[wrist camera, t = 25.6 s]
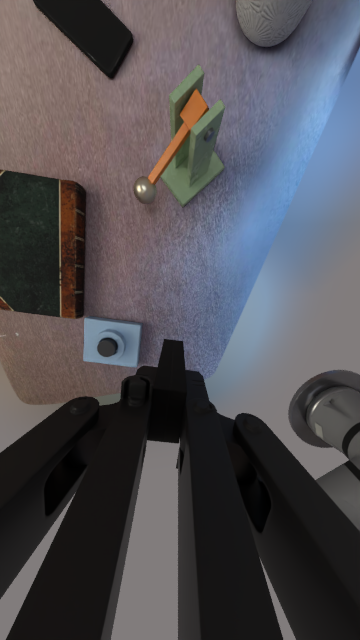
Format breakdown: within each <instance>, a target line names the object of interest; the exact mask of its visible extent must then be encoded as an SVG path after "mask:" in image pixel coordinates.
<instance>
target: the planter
mask: <svg viewBox="0 0 360 640" xmlns="http://www.w3.org/2000/svg"><path fill="white" fill-rule="evenodd" d="M312 1H313V0H236V10H237V17H238V21H239V24H240V27H241V29H242V31H243V33H244V34H245V36H246V37H247V38H248V39H249V40H250V41H251V42H252V43H254V44H256V45H258V46H262V47H271V46H274V45H277V44H279V43H280V42H282V41H283V40H285V39H286V38H287V37H288V36H289V35H290V34H291V33H292V32H293V31H294V29H295V28H296V27H297V25H298V24H299V22H300V21H301V19H302V18H303V16H304V15H305V13H306V11H307V9H308V8H309V6H310V4H311V2H312Z"/></svg>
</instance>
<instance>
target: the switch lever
mask: <svg viewBox="0 0 360 640" xmlns="http://www.w3.org/2000/svg"><path fill="white" fill-rule="evenodd" d="M208 111H209V108H208V106H207V104H206V102H205V101H204V99H203V98H202V96H201V95H200V93H199V91H198V90H197V88H196V89H195V91H194V92H193V94H192V96H191V97H190V99H189V101H188V102H187V104H186V105H185V107H184V109H183V110H182V112H181V113H180V116H181V118H182V119H183V121H184V123H183V124H182V126H181V127H180V129H179V130H178V132H177V134H176V135H175V137H174V138H173V140H172V141H171V143H170V144H169V146H168V147H167V149H166V150H165V152H164V154H163V155H162V157H161V158H160V160H159V161H158V163H157V164H156V166H155V167H154V169H153V170H152V172H151V174H150V175H149V177H146V176H142V177H139V178H138V179H137V180H136V181H135V183H134V194H135V197H136V198H137V200H138V201H139V202H141V203H143V204H150V203H151V202H153V201H154V199H155V197H156V186H155V184H156V183H157V181H158V180H159V178H160V177H161V175H162V174H163V172H164V171H165V170H166V168H167V167H168V165H169V164H170V162H171V161H172V159H173V158H174V157H175V155H176V154H177V152H178V151H179V149H180V148H181V146H182V145H183V144H184V142H185V141H186V139H187V138H188V136H189V135H190V133H191V128H192V127H193V126H194V125H195V124H196V123H197V122H198V121H199V120H200V119H201V118H202V117H203V116H204V115H205V114H206V113H207V112H208Z"/></svg>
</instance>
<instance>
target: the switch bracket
mask: <svg viewBox="0 0 360 640" xmlns="http://www.w3.org/2000/svg"><path fill="white" fill-rule="evenodd" d="M203 78H204V72H203V70H202V69H201V67H200V65H198V66H197V67H196V68H195V69H194V70H193V71H192V72H191V73H190V74H189V75H188V76H187V77H186V78H185V79H184V80H183V81H182V82H181V84H180V85H179V86H178V87H177V88H176V89H175V90H174V91H173V92H172V93H171V94H170V95H169V101H170V123H171V141H172V140H173V138H174V137H175V135H176V134H177V132H178V130H179V129H180V127H181V126H182V124H183V123H184V121H183V119H182V118H181V116H180V113H181V112H182V110H183V109H184V107H185V105H186V104H187V102H188V101H189V99H190V97H191V96H192V94H193V92H194V91H195V89H196V88H197V90H198V91H199V93H200V95H201V93H202V86H203ZM224 110H225V106H224V104H223V102H222V101H221V99H220V100H219V101H218V102H217V103H216V104H215V105H214V106H213V107H212V108H211V109H210V110H209V111H208V112H207V113H206V114H205V115H204V116H203V117H202V118H201V119H200V120H199V121H198V122H197V123H196V124H195V125H194V126H193V127H192V128H191V133H190V135H189V136H188V138H187V139H186V141H185V142H184V144H183V145H182V146H181V148H180V149H179V151H178V152H177V154H176V155H175V157H174V158H173V159H172V161H171V162H170V164H169V165H168V167H167V168H166V170H165V171H164V172H163V174H162V175H161V177H160V178H161V179H162V180H163V182H164V183H165V184H166V186H167V187H168V188H169V190H170V191H171V192H172V194H173V195H174V196H175V198H176V199H177V200H178V202H179V203H180V205H181V206H182V207H184V206H185V205H186V204H187V203H189V202H190V201H191V200H192V199H193V198H194V197H195V196H196V195H197V194H198V193H199V192H200V191H202V190H203V189H204V188H205V187H206V186H207V185H208V184H209V183H210V182H211V181H212V180H213V179H215V178H216V177H217V176H218V175H219V174H220V173H221V172H222V171H223V169H224V165H223V164H222V162H221V161H220V159H219V158H218V156H217V155H216V153H215V152H214V146H215V142H216V139H217V135H218V132H219V128H220V124H221V121H222V117H223V113H224Z"/></svg>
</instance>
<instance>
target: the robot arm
mask: <svg viewBox="0 0 360 640" xmlns="http://www.w3.org/2000/svg"><path fill="white" fill-rule="evenodd" d="M306 421H307V424H308V426H309V428H310V429H311V430H312V431H313V432H314V433H315V434H316V435H317V436H318V437H319V438H320V439H322V440H323V441H325V442H327V443H328V444H330V445H331V446H333V447H334V448H336V449H337V450H339V451H340V452H342V453H343V454H345V456H346V457H347V458H348V459H349V461H347V462H346V463H344V464H342V465H340V466H339V467H337V468H335V469H334V470H332V471H330V472H328V473H327V474H325V475H323V476H322V477H320V478H318V479H317V480H314V478H313V477H312V476H311V475H310V474H309V473H308V472H307V470H306V469H305V468H304V467H303V466H302V465H301V464H300V462H299V461H298V460H297V459H296V458H295V457H294V456H293V454H292V453H291V452H290V451H289V450H288V449H287V448H286V446H285V445H284V444H283V443H282V442H281V441H280V440H279V439H278V437H277V436H276V435H275V434H274V433H273V432H272V430H271V429H270V428H269V427H268V426H267V425H266V424H265V423H264V422H263V421H262V420H261V419H259V418H258V417H256V416H254V415H251V414H247V413H241V414H238V415H237V416H236V418H235V420H233V419H230V418H227V417H225V416H223V415H220V414H219V413H217V410H216V408H215V406H214V405H213V404H212V403H211V402H210V401H209V398H208V394H207V390H206V387H205V383H204V379H203V376H202V375H201V374H200V373H199V372H197V371H189V370H185V359H184V347H183V341H176V340H169V339H164V342H163V347H162V351H161V355H160V360H159V364H158V367H151V366H142V367H140V368H139V369H138V370H137V372H136V375H133V376H129V377H127V378H125V379H124V380H123V381H122V386H121V399H120V401H119V402H117V403H114V404H110V405H102V406H99V402H98V400H97V399H95V398H93V397H87V396H85V397H78V398H75V399H72V400H70V401H69V402H67V403H66V404H64V405H63V406H62V407H60V408H59V409H58V410H56V411H55V412H54V413H52V414H51V415H50V416H48V417H47V418H46V419H44V420H43V421H42V422H41V423H39V424H38V425H37V426H35V427H34V428H33V429H31V430H30V431H29V432H27V433H26V434H25V435H23V436H22V437H21V438H19V439H18V440H17V441H15V442H14V443H13V444H11V445H10V446H9V447H7V448H6V449H5V450H4V451H2V452H1V453H0V599H1V597H2V596H3V595H4V593H5V592H6V590H7V589H8V588H9V586H10V585H11V583H12V582H13V580H14V579H15V578H16V576H17V575H18V573H19V572H20V570H21V569H22V568H23V566H24V565H25V563H26V562H27V560H28V559H29V558H30V556H31V555H32V553H33V552H34V551H35V549H36V548H37V546H38V545H39V544H40V542H41V541H42V539H43V538H44V536H45V535H46V534H47V532H48V531H49V529H50V528H51V526H52V525H53V524H54V522H55V521H56V519H57V518H58V517H59V515H60V514H61V512H62V511H63V509H64V508H65V507H66V505H67V504H68V502H69V501H70V500H71V498H72V497H73V495H74V494H75V496H74V498H73V500H72V502H71V504H70V506H69V508H68V510H67V512H66V515H65V517H64V519H63V521H62V523H61V525H60V527H59V529H58V532H57V533H56V536H55V538H54V540H53V542H52V544H51V546H50V548H49V550H48V552H47V554H46V557H45V559H44V561H43V563H42V565H41V567H40V569H39V571H38V574H37V575H36V578H35V580H34V582H33V584H32V586H31V588H30V590H29V592H28V594H27V597H26V599H25V601H24V603H23V605H22V607H21V609H20V611H19V613H18V615H17V617H16V620H15V622H14V624H13V626H12V628H11V630H10V633H9V634H8V636H7V638H6V640H111V635H112V629H113V624H114V618H115V613H116V607H117V602H118V597H119V592H120V586H121V581H122V575H123V570H124V565H125V559H126V554H127V548H128V543H129V538H130V532H131V526H132V521H133V516H134V511H135V505H136V500H137V495H138V489H139V483H140V478H141V473H142V467H143V462H144V457H145V451H146V443H147V440H150V441H160V442H169V443H179V439H180V448H179V453H178V459H177V465H176V468H177V469H178V640H283V637H282V634H281V630H280V627H279V623H278V620H277V616H276V613H275V610H274V606H273V603H272V599H271V596H270V592H269V589H268V586H267V582H266V579H265V575H264V572H263V568H262V565H261V562H260V559H261V561H262V563H263V565H264V568H265V570H266V572H267V575H268V577H269V579H270V582H271V584H272V586H273V588H274V591H275V593H276V595H277V597H278V600H279V602H280V604H281V606H282V609H283V611H284V613H285V615H286V618H287V620H288V622H289V624H290V627H291V629H292V631H293V633H294V636H295V638H296V640H360V393H359V392H358V391H356V390H355V389H352V388H350V387H344V386H339V387H333V388H330V389H327V390H325V391H323V392H321V393H320V394H318V395H317V396H316V397H315V398H314V399H313V400H312V401H311V403H310V404H309V406H308V409H307V412H306ZM75 492H76V493H75ZM259 557H260V558H259Z"/></svg>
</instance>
